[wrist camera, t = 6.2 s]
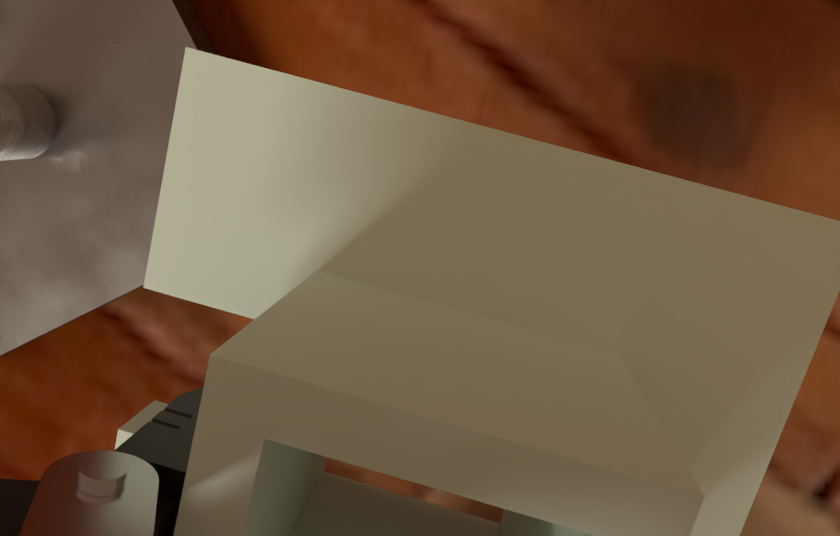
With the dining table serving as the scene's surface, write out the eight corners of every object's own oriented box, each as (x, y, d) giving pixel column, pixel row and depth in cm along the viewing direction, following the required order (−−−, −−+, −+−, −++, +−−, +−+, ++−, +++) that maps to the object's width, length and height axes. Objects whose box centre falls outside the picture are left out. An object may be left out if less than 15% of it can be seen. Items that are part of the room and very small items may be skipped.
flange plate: (822, 217, 13) (1149, 298, 6) (622, 726, 15) (715, 1143, 9) (218, 56, 13) (-26, -15, 7) (122, 574, 16) (-122, 865, 10)
